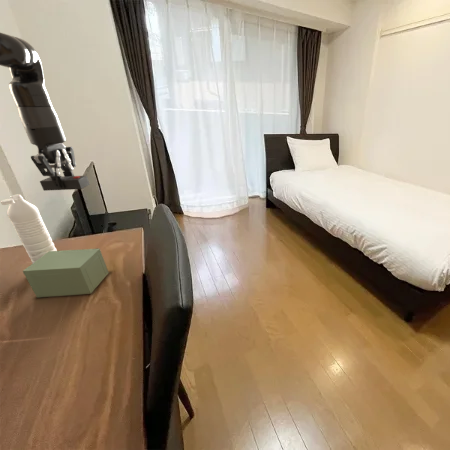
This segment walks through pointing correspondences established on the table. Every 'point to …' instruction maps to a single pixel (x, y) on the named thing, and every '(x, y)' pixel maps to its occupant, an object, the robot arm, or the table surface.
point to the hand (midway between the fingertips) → (66, 185)
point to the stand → (66, 272)
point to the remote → (66, 183)
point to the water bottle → (29, 227)
